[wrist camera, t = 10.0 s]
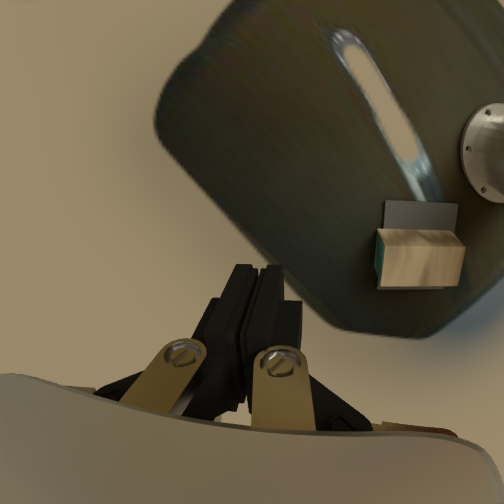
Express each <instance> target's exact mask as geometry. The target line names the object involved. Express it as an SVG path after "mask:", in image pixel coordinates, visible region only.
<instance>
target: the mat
mask: <svg viewBox="0 0 504 504" xmlns="http://www.w3.org/2000/svg"><path fill="white" fill-rule="evenodd" d="M457 211H458V203H441V202H421V201H396V200H385V211H384V225H383V229H411V230H446V231H452V232H453V233H454V232H455V226H456V219H457ZM443 288H444V286H380V283H379V280H378V283H377V290H409V289H443Z"/></svg>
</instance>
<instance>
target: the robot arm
mask: <svg viewBox="0 0 504 504" xmlns="http://www.w3.org/2000/svg"><path fill="white" fill-rule="evenodd" d="M485 111H486V114H485ZM466 147H467V150H466ZM460 154H461V162H462V167H463V171H464V173H465V176H466V178H467V180H468V182H469V183H470V185H471V186H472V187H473V189H474V190H475V191H476V192H477V193H478V194H480V195H481V196H482V197H484V198H486V199H487V200H489V201H492V202H495V203H504V104H501V103H490V104H487V105H484V106H482V107H480V108H479V109H477V110H476V111H475V112H474V113H473V114H472V115H471V117H470V118H469V120H468V121H467V123H466V125H465V128H464V130H463V134H462V138H461V146H460ZM481 188H482V189H481ZM301 336H302V301H290V300H284V272H283V265H267V267H266V269H264V268H262V269H261V271H260V274H259V277H258V269H257V268H253V267H252V265H251V264H236V265H235V268H234V270H233V272H232V274H231V276H230V278H229V280H228V282H227V284H226V286H225V288H224V291H223V292H222V294H221V297H220V298H212V299H211V300H210V303H209V304H208V306H207V308H206V310H205V312H204V314H203V316H202V318H201V320H200V322H199V324H198V326H197V328H196V330H195V332H194V333H193V335H192V337H191V339H189V338H185V339H178V340H175V341H172V342H170V343H168V344H167V345H165V346H164V347H163V348H162V349H161V350H160V352H159V353H158V354H157V355H156V356H155V358H154V359H153V360H152V362H151V363H150V364H149V365H148V366H147V368H146V369H145V370H144V371H141V372H139V373H137V374H134V375H131V376H129V377H126V378H124V379H121V380H118V381H116V382H114V383H111V384H108V385H106V386H104V387H102V388H100V389H99V390H97V391H96V389H95V388H88V387H74V386H63V385H60V384H57V383H53V382H50V381H47V380H43V379H40V378H37V377H32V376H27V375H23V374H14V373H9V374H0V504H504V485H503V482H502V479H501V476H500V473H499V471H498V469H497V466H496V464H495V463H494V461H493V459H492V458H491V456H490V455H489V454H488V453H487V452H486V451H485V450H484V449H483V448H482V447H480V446H479V445H477V444H475V443H472V442H470V441H468V440H464V439H462V438H458V436H457V435H456V434H455V433H454V432H452V431H451V430H448V429H443V428H434V427H422V426H414V425H406V424H398V423H390V422H384V421H382V424H381V425H379V424H372V423H370V421H369V420H368V419H367V418H365V416H364V415H362V414H361V413H360V412H358V411H357V410H356V409H354V408H353V407H352V406H350V405H349V404H348V403H346V402H345V401H344V400H342V399H341V398H339V397H338V396H337V395H335V394H334V393H333V392H331V391H330V390H329V389H327V388H326V387H325V386H324V385H322V384H321V383H320V382H318V381H317V380H316V379H315V378H313V377H312V376H311V375H310V374H309V373H308V365H307V360H306V357H305V355H304V354H303V353H302V352H301V351H300V348H301ZM246 395H247V401H248V408H249V413H250V414H251V415H252V418H251V426H244V425H237V424H228V423H222V422H221V414H223V413H225V412H227V411H233V412H236V411H237V408H238V404H239V403H244V402H245V399H246Z"/></svg>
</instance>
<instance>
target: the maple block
mask: <svg viewBox="0 0 504 504" xmlns="http://www.w3.org/2000/svg"><path fill="white" fill-rule="evenodd" d="M465 249H466V247H465V246H464V245H463V243H462V242H461V241H460V240H459V239H458V238H457V237H456V236H455V235H454V233H453V232H452V231H446V230H411V229H378V230H377V239H376V250H375V260H374V267H375V270H376V273H377V276H378V280H379V283H380V286H457V285H458V281H459V277H460V273H461V268H462V264H463V259H464V254H465Z"/></svg>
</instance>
